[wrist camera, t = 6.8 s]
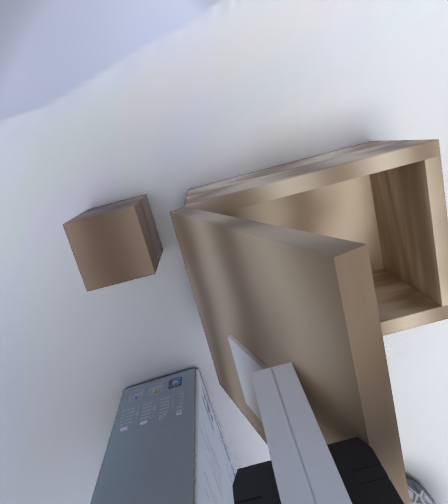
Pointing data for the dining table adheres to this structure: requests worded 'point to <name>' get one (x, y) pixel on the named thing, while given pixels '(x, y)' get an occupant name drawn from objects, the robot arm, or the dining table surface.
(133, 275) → the walnut block
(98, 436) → the dining table surface
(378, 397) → the lid
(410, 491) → the planter
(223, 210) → the light wooden box
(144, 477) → the hard drive box
